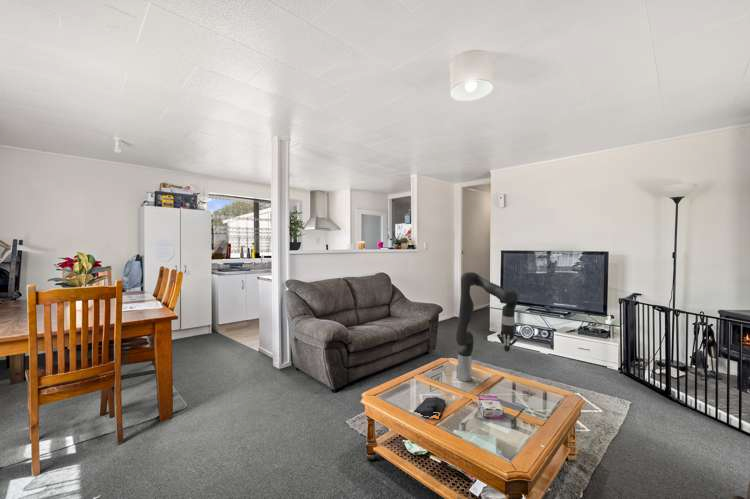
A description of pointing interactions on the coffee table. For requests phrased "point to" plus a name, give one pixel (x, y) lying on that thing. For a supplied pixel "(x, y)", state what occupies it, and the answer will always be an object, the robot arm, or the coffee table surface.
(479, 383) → the coffee table surface
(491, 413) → the candy bar box
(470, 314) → the robot arm
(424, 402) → the dark slate chunk
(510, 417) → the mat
